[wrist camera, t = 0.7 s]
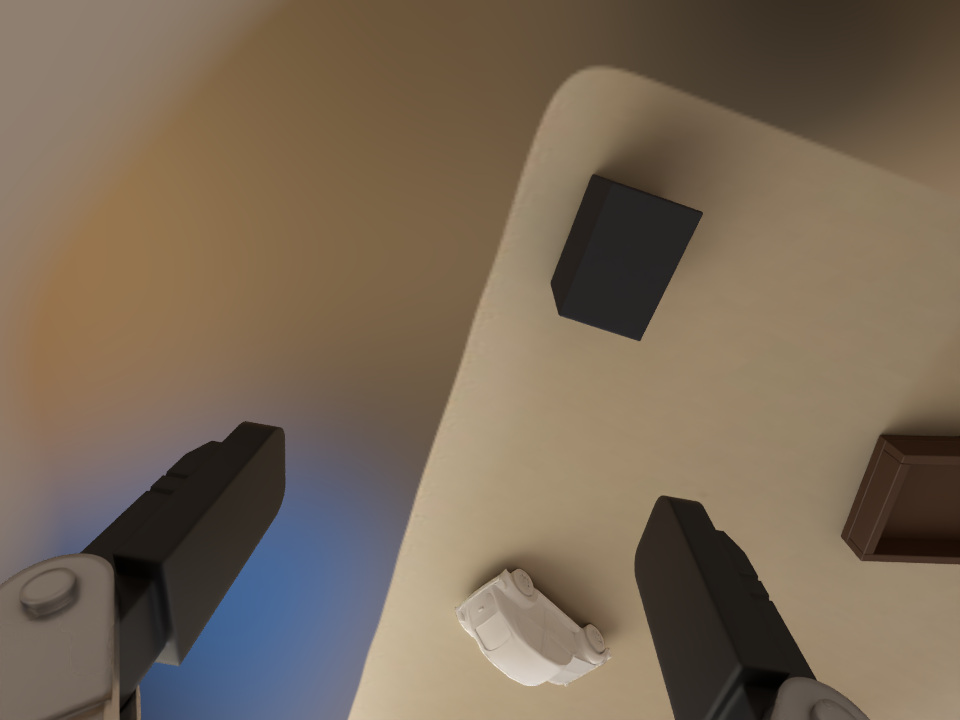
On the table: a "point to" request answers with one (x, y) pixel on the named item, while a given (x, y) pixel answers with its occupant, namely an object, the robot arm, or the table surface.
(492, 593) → the car
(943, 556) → the tray
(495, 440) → the table surface
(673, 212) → the black rectangular block
